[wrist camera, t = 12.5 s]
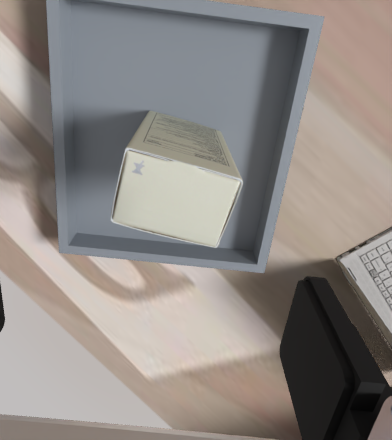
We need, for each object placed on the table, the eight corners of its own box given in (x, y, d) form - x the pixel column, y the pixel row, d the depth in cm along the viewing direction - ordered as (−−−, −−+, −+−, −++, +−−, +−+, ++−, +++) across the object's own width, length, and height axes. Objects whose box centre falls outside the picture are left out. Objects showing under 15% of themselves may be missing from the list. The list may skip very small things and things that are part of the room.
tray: (311, 20, 26) (324, 16, 23) (258, 255, 34) (264, 273, 32) (61, -14, 25) (44, -22, 22) (70, 236, 34) (59, 252, 31)
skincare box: (136, 159, 30) (101, 222, 19) (148, 107, 28) (118, 143, 17) (210, 180, 31) (218, 253, 20) (226, 131, 29) (245, 180, 18)
